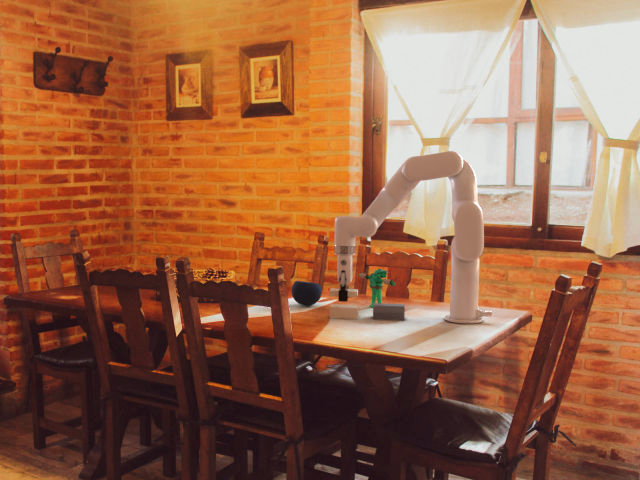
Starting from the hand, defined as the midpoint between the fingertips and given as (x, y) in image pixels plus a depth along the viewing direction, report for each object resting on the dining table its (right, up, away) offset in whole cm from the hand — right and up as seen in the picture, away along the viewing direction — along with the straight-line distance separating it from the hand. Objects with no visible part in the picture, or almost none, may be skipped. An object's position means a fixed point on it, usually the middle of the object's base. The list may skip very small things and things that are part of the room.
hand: (343, 299), depth 272 cm
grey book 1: (+16, -4, -3) cm, 17 cm away
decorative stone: (-11, -4, +23) cm, 26 cm away
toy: (+16, -4, +18) cm, 24 cm away
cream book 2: (0, -4, 0) cm, 4 cm away
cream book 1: (0, +1, 0) cm, 1 cm away
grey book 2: (+16, -7, -2) cm, 17 cm away
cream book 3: (0, -6, +1) cm, 6 cm away
